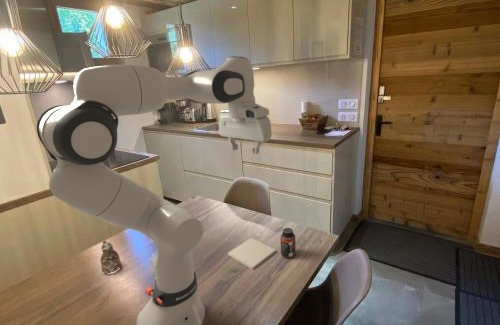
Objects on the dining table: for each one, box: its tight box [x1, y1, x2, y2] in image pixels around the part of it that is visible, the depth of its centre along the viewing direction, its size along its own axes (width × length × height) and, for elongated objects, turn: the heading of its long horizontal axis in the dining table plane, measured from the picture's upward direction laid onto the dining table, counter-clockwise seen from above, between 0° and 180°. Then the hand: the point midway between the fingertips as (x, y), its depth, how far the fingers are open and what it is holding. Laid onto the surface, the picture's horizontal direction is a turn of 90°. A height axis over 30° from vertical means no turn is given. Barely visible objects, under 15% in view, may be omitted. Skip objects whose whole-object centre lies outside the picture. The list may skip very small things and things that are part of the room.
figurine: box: [99, 240, 122, 273], centre depth 110 cm, size 7×7×12 cm
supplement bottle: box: [280, 227, 297, 259], centre depth 112 cm, size 6×6×11 cm
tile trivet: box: [227, 237, 277, 270], centre depth 115 cm, size 14×14×1 cm
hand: (245, 151), depth 94 cm, fingers open, 8 cm apart
